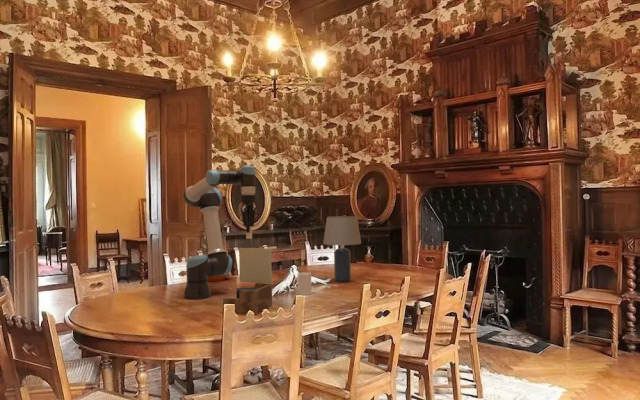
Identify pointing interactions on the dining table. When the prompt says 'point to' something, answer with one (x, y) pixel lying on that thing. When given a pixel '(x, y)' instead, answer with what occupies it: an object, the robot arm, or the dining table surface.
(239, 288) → the small box
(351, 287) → the dining table surface
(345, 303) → the dining table surface
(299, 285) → the mug
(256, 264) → the lid
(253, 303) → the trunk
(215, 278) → the bowl
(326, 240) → the lamp
